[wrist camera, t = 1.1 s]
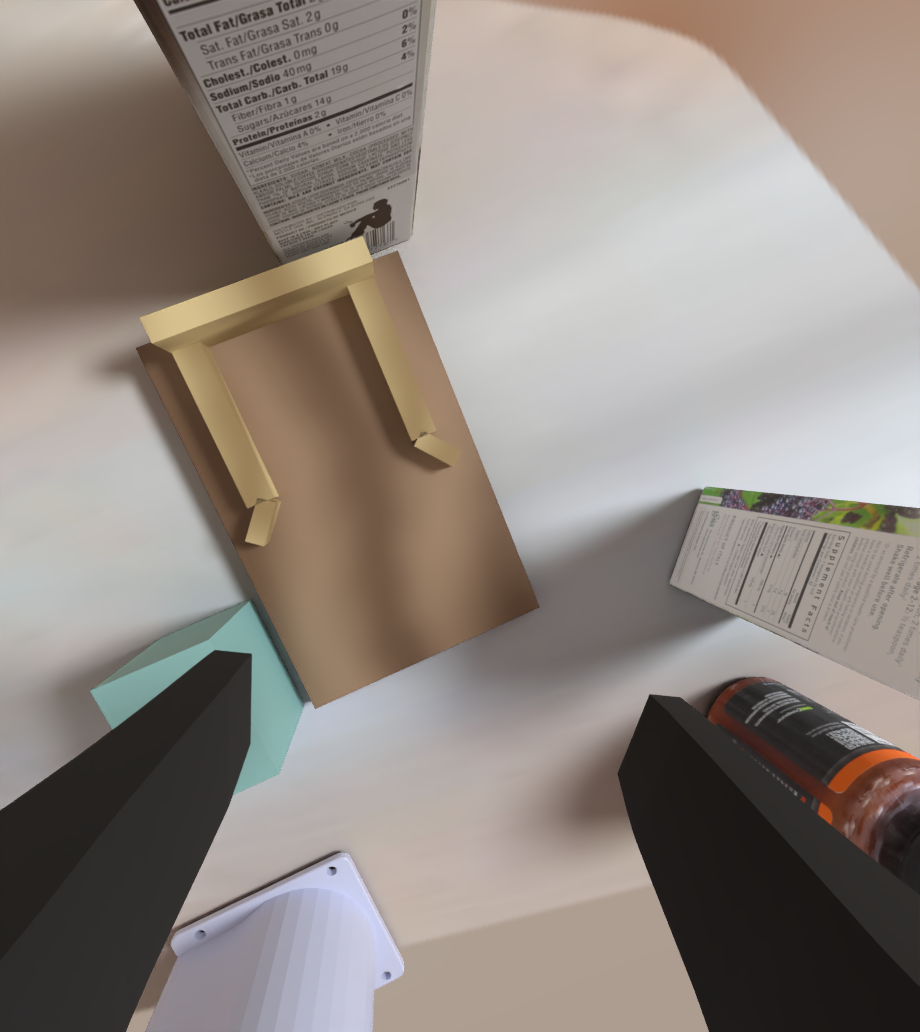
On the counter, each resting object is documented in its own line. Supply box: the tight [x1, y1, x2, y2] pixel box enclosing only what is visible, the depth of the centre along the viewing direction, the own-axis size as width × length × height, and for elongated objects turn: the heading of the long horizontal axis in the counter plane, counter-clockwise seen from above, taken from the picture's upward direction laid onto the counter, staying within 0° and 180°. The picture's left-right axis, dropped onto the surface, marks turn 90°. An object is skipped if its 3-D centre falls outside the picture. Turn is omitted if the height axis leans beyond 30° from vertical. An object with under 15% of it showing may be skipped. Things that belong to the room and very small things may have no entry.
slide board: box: [136, 236, 539, 709], centre depth 21 cm, size 12×18×4 cm, turn 22°
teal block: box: [90, 599, 304, 795], centre depth 21 cm, size 4×6×6 cm
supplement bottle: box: [707, 677, 920, 895], centre depth 22 cm, size 6×6×11 cm
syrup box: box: [670, 487, 920, 700], centre depth 19 cm, size 6×6×14 cm
